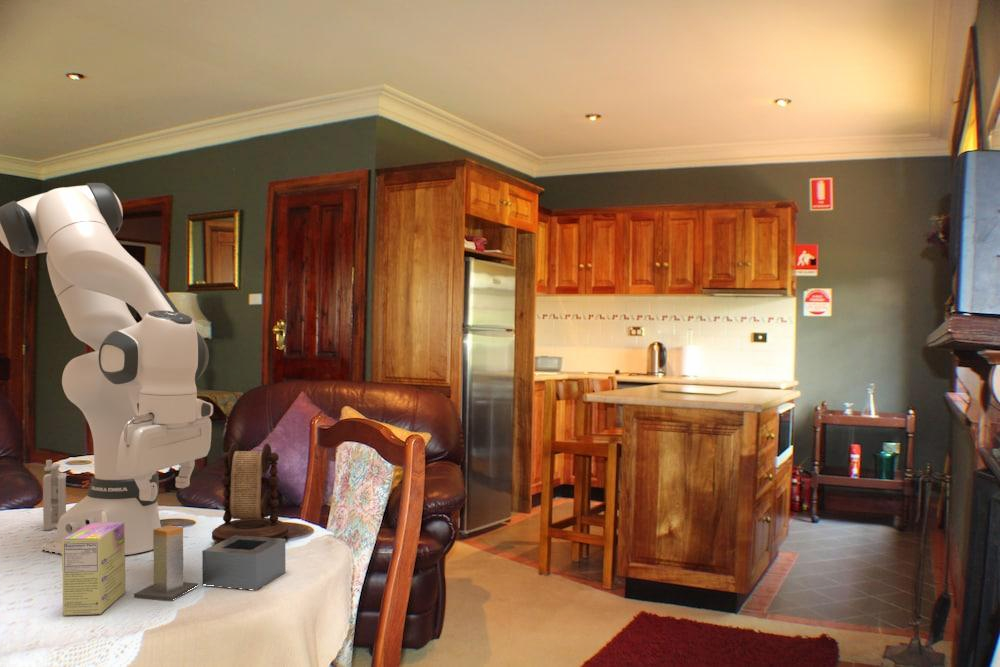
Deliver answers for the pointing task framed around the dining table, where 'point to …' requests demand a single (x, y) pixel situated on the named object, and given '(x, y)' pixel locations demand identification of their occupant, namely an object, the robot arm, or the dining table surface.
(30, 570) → the dining table surface
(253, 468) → the scroll
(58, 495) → the white pump bottle
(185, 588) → the mat
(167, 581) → the orange tipped grey block
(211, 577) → the square frame
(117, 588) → the box
